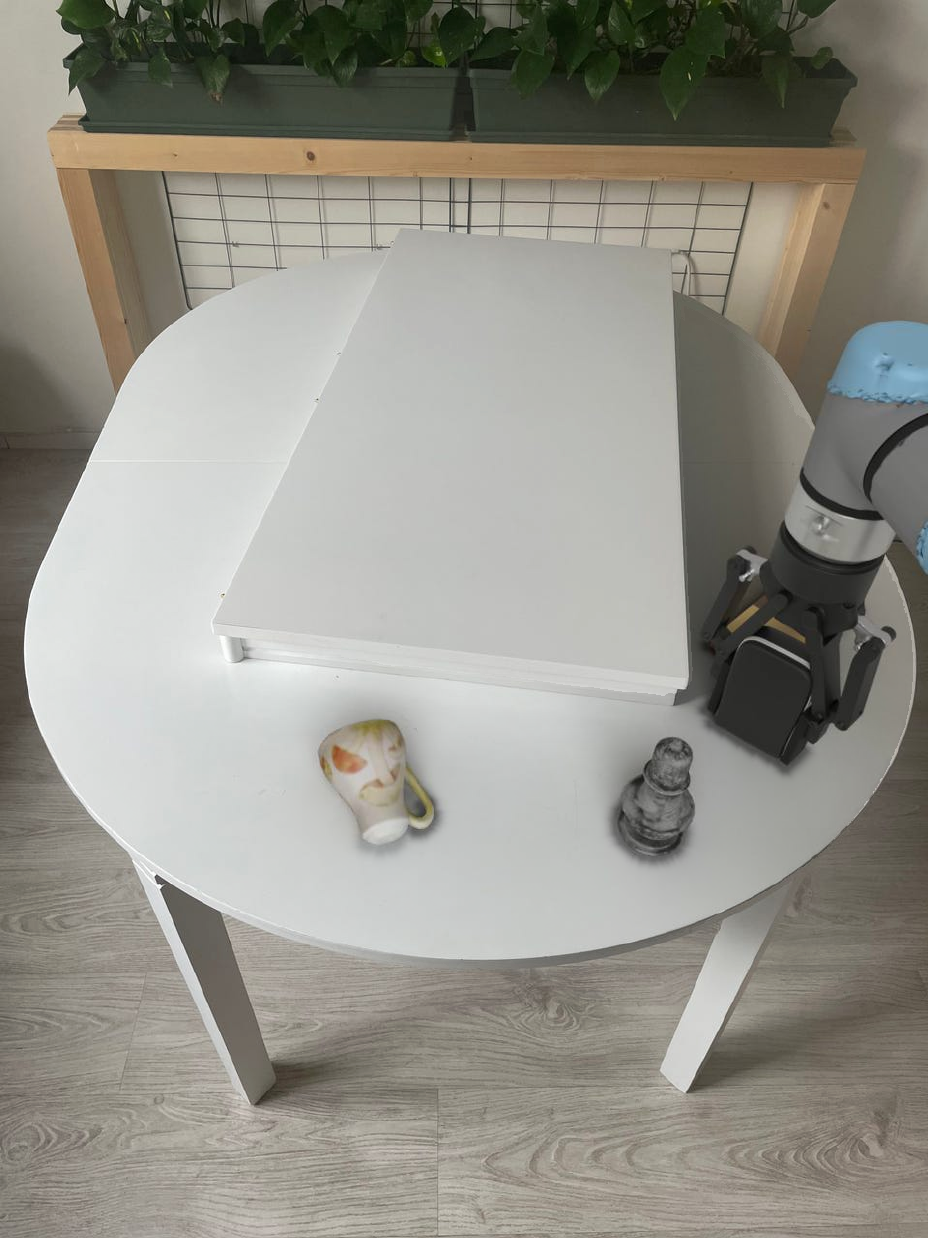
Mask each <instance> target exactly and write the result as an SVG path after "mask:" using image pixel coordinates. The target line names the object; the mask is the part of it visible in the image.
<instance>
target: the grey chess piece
mask: <svg viewBox="0 0 928 1238" xmlns="http://www.w3.org/2000/svg"><path fill="white" fill-rule="evenodd" d="M652 753H653V754H652V758H651V759H649V760H648V761H647V762H646V763H645V764H644V767H643V769H642V770H643V771H642V772H643V773H642V774H638V775H635V776H634V777H632V778H631V779H629V780H628V782H627V783H626V784H625V785H624V787H623V788H622V792H621V795H620V805H621V808H622V810H621V811H620V813H619V817H618V822H617V823H618V826H617V827H618V829H619V834H620V836H621V838H622V839H623V841H624V842H625V843H626V844H627V845H628V847H630V848H631V849H633V850H634V851H635V852H638V853H641V854H643V855H646V856H652V857H658V856H659V857H660V856H665V855H667V854H670V853H672V852H673V851H675V850H676V849H677V848H678V846H679V845H680V844H681V842H682V839H683V835H684V831H685V830H687V829H688V828H689V827H690V825H691V824H692V822H693V820H694V817H695V814H696V803H695V801H694V798H693V796H692V794H691V793H690V791H689V787H690V785H691V782H692V778H691V777H692V776H691V774H690V769H691V767H692V763H693V760H694V752H693V749H692V747H691V746H690V744H688V742H687V741H685V740H684V739H682V738H680V737H676V736H668V737H664V738H662V739H660V740H658V742H657V743H656V745H655V747H654V750H653V752H652Z"/></svg>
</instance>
